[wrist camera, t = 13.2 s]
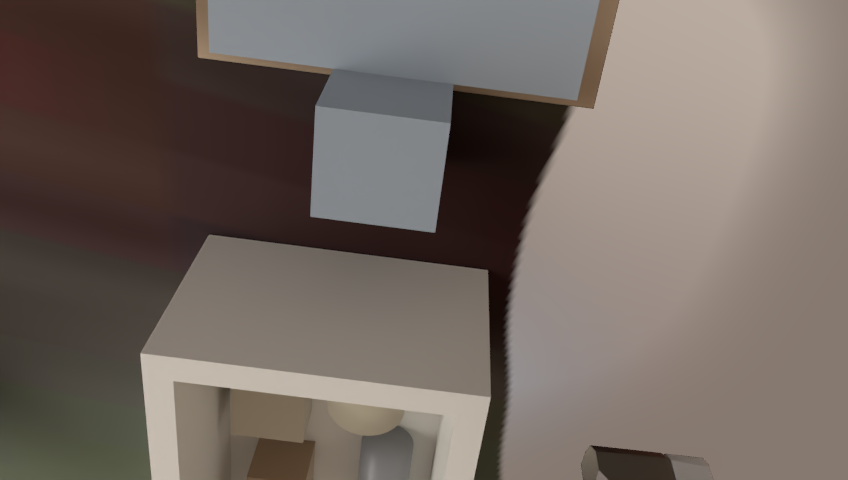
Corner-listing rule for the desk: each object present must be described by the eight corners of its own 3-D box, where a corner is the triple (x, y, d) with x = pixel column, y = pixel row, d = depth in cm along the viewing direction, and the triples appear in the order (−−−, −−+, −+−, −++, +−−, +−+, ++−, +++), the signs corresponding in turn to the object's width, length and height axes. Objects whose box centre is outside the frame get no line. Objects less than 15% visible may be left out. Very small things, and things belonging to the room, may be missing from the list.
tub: (209, 234, 25) (140, 353, 20) (488, 270, 25) (490, 397, 20) (218, 525, 32) (169, 668, 27) (435, 552, 32) (427, 699, 27)
